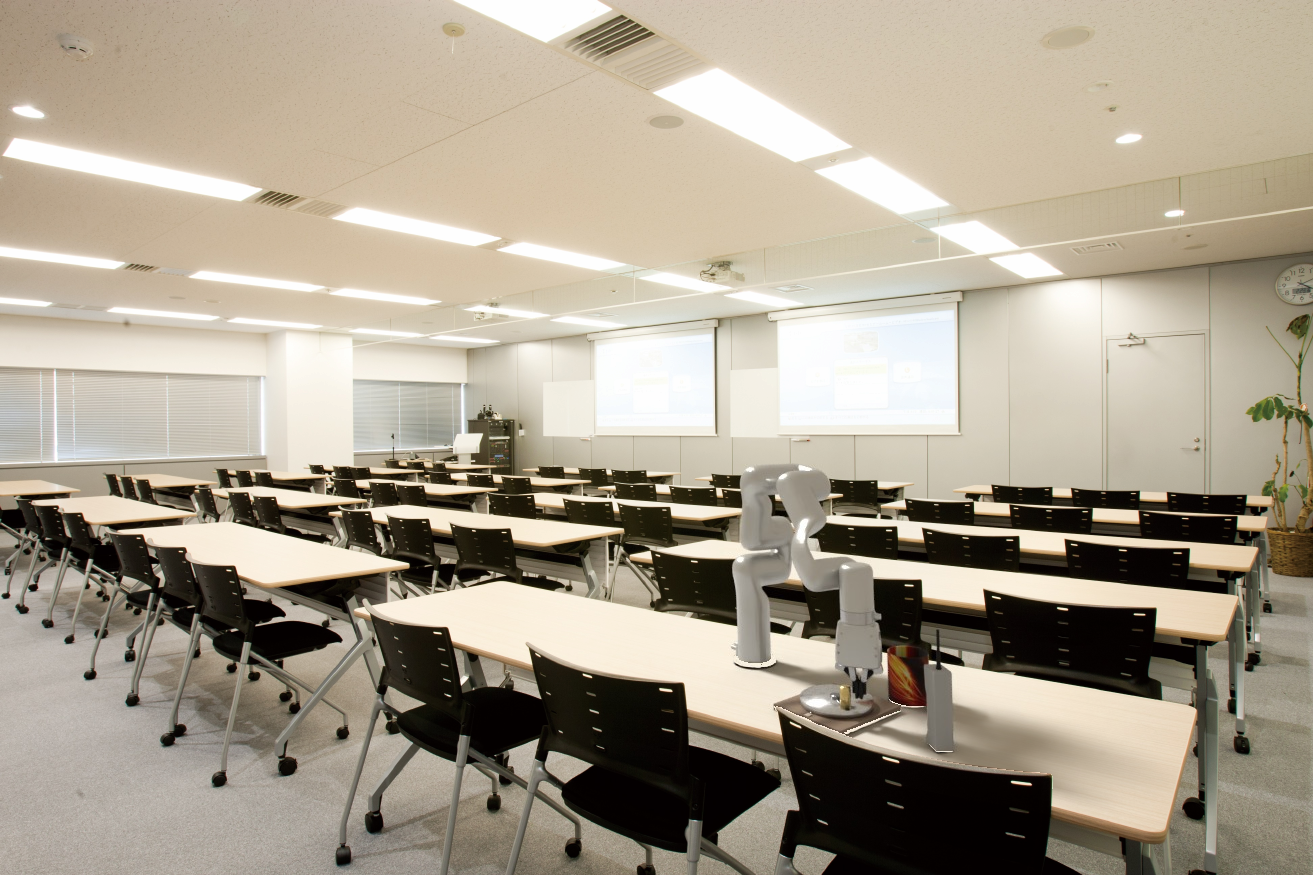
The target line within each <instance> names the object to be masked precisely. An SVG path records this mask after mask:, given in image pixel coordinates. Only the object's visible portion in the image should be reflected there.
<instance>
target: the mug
mask: <svg viewBox="0 0 1313 875" xmlns="http://www.w3.org/2000/svg"><path fill="white" fill-rule="evenodd" d="M886 652H887V653H886V655H887V656H886V658H887V659H886V660H887V689H888V690H887V691H888V692H887V695H888V696H887V697H889V699H890V700H891V701H893V702H895V703H898V704H901V705H906V706H926V707H927V694H926V689H925V676H924V665H925V664H930V658H929V657H930V656H929V654H930V653H929V652H928V650H926V649H923V648H921V647H918V646H917V647H916V646H912V645H911V646H910V645H897V646H891V647H888V648H887V650H886ZM889 699H888V700H889Z"/></svg>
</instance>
